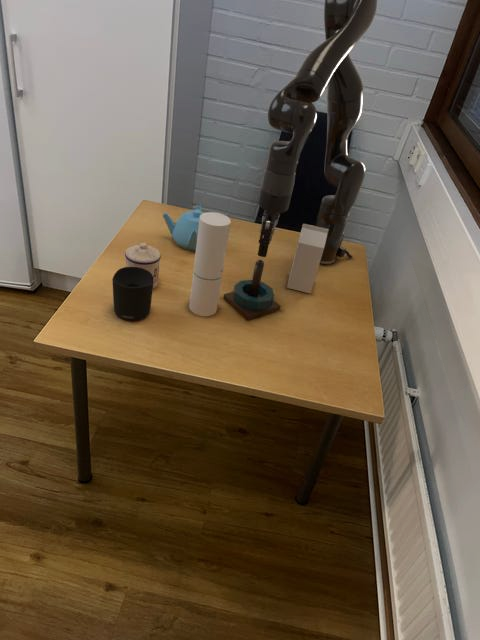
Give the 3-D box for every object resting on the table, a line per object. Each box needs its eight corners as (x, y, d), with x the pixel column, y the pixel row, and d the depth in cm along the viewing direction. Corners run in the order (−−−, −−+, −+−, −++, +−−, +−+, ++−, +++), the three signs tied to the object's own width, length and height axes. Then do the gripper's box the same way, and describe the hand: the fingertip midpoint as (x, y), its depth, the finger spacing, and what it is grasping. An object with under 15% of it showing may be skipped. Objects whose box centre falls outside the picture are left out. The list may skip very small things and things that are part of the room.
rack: (254, 289, 132) (263, 246, 124) (279, 310, 126) (290, 266, 118) (223, 298, 126) (230, 253, 118) (247, 320, 119) (257, 275, 112)
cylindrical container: (220, 305, 123) (235, 217, 109) (210, 319, 117) (224, 228, 103) (195, 297, 124) (206, 209, 110) (184, 310, 119) (194, 220, 104)
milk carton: (310, 294, 135) (328, 234, 124) (286, 288, 136) (301, 228, 124) (312, 282, 141) (329, 224, 130) (289, 276, 141) (304, 218, 130)
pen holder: (104, 309, 114) (104, 274, 108) (135, 296, 120) (136, 262, 114) (128, 328, 110) (129, 292, 104) (159, 313, 116) (161, 279, 110)
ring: (255, 284, 132) (257, 276, 130) (280, 305, 125) (282, 296, 123) (225, 292, 126) (226, 284, 124) (249, 314, 119) (251, 305, 118)
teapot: (189, 258, 140) (193, 226, 134) (159, 237, 148) (161, 205, 142) (226, 247, 150) (231, 216, 144) (196, 228, 158) (199, 198, 151)
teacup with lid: (157, 293, 123) (160, 254, 116) (122, 290, 122) (122, 250, 115) (161, 270, 132) (163, 233, 126) (128, 266, 131) (129, 229, 124)
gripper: (265, 175, 117) (254, 234, 126) (256, 195, 105) (245, 257, 115) (295, 182, 117) (281, 240, 126) (289, 202, 105) (274, 264, 114)
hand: (264, 248), depth 120 cm, fingers open, 8 cm apart
